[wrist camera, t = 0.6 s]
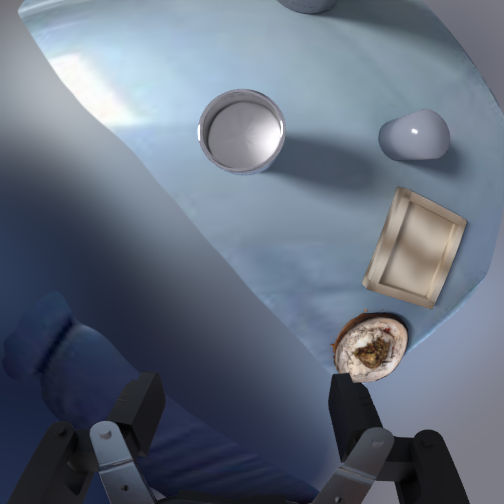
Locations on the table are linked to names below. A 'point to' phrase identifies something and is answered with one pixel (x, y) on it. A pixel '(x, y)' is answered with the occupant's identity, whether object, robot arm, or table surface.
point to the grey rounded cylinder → (415, 136)
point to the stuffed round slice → (370, 346)
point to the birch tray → (414, 250)
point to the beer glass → (242, 132)
